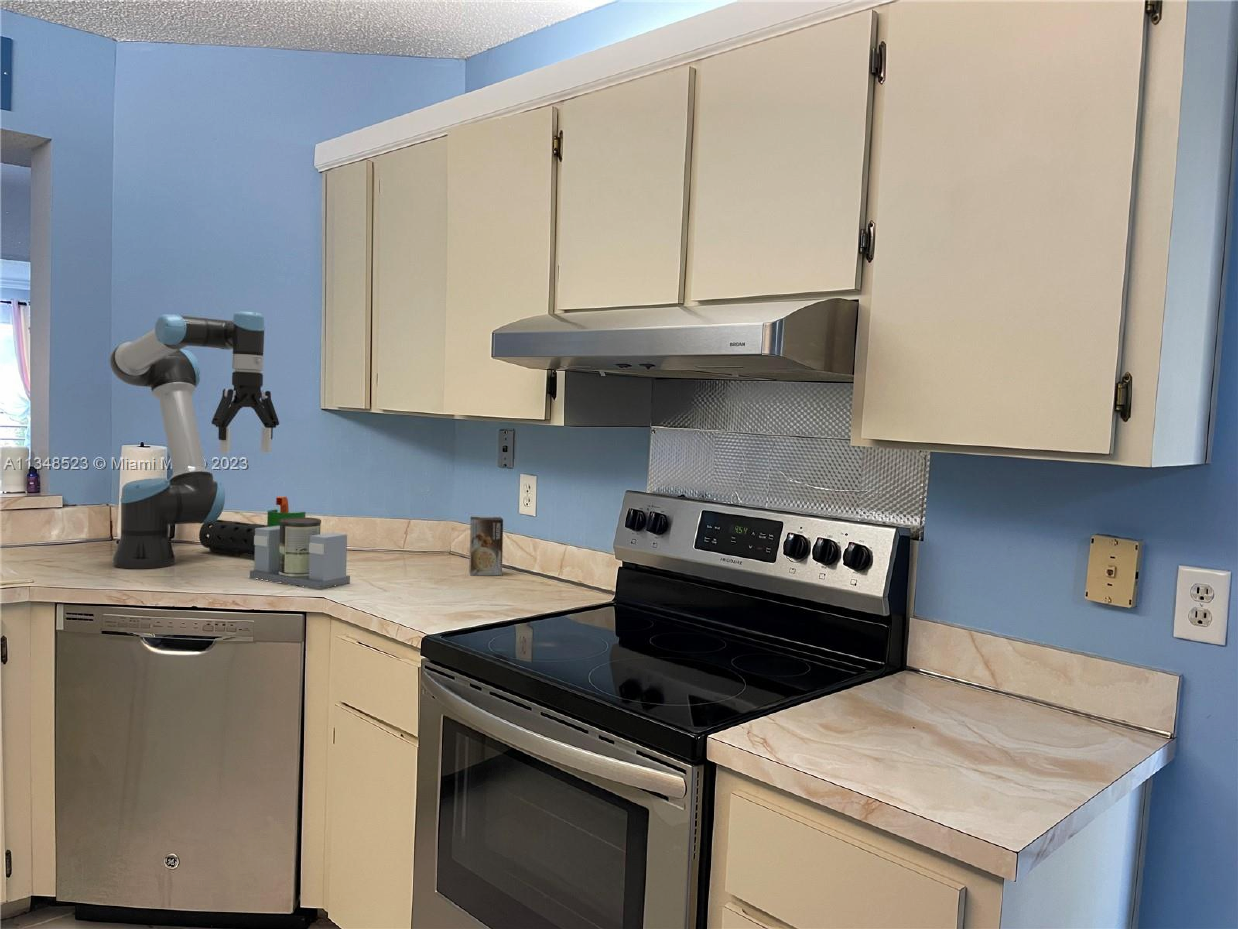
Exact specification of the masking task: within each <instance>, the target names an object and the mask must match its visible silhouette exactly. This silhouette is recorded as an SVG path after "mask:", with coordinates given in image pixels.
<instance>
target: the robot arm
mask: <svg viewBox="0 0 1238 929" xmlns="http://www.w3.org/2000/svg"><path fill="white" fill-rule="evenodd" d="M264 345H265V318H264V315H263V314H262V313H259V312H256V311H255V312H254V311H243V310H242V311H235V312H234V314H233V317H232V320H228V319H227V320H226V319H216V318H205V317H199V316H198V317H197V316H188V315H179V314H174V313H173V314H161V315H159V316H158V317H157V319H156V321H155V325H154V329H152V330H151V331H149V332H148V333H146V334H143V336H141V337H139V338H137V339H135V340H134V341H127V342H124V343H122V344H120V345H118V346H117V347H116V348H115V349H114V350H113V351H112V353H111V354H110V356H109V357H110V358H109V364H110V368H111V370H112V372H113V373H114V375H115V377H117V378H118V379H119V380H121V381H122V382H124V383H125V384H128V385H130V386H136V387H145V388H146V387H148V388H150V390H151V394H152V396H153V397H154V398H156V399H157V400H159V405H160V406H159V407H160V410H161V412H160V413H161V417H162V421H163V428H164V431H165V432H164V433H165V438H166V442H167V449H168V454H169V459H170V463H171V464H170V465H171V470H172V476H171V477H170V478H169V479H168V478H165V477H163V478H162V477H157V478H156V477H155V478H144V479H143V478H142V479H137V480H133V481H129V482H126V483H125V484H123V486H122V489H121V495H120V496H121V498H120V538H119V540H118V543H117V546H116V549H115V553H114V554H113V557H112V560H113V561H112V564H113V567H116V568H121V569H133V570H134V569H157V568H164V567H169V566H173V565H175V562H176V561H175V560H176V557H175V556H176V555H175V553H174V550H173V546H172V543H171V541H170V537H169V526H173V525H186V524H187V525H189V524H199V525H200V524H202V525H203V523H205V522H213V521H215V520H217V519H218V520H219V518H220V517H221V514H222V513H223V510H224V507H225V502H226V492H225V488H224V485H223V484H222V483H221V482H219V481H217V480H214V475H213V473H212V472H211V471H209V470H208V469H206V464H205V458H204V455H203V450H202V449H203V448H202V446H201V445H202V444H201V441H200V440H201V439H200V434H199V429H198V424H197V419H196V414H195V408H194V405H193V399H192V395H194V393H195V392H196V388H197V387H198V386H199V383H200V380H201V368H200V364H199V361H198V358H197V357H196V356H195V355H194V353H192V352H191V351H189V350H187V349H183V348H186V347H188V346H189V347H200V348H201V347H203V348H213V349H214V348H215V349H220V350H227V351H228V350H232V362H231V366H232V367H231V368H232V370H234V371H232V372H231V380H232V381H231V385H232V386H233V389H232V388H223V390H222V397H221V399H220V401H219V403H218V406H217V408H216V410H215V412H214V415H213V417H212V420H211V424H212V425H214V426H215V427H216V428H218V432H217V433H218V437H217V438H218V440H219V453H221V454H230V453H231V427H228V426H229V425H230V424H231V422H232V421H233V420H234V418H235V416H236V415H237V414H238V413H239V411H240V410H241V409H242V408H251V409H253V410H254V412H255V413H256V415H257V417H258V419H259V420H260V421H261V423H262V425H263V426H264V427H261V438H260V440H261V442H260V444H261V445H260V447H261V448H260V450H261V452H262V453H263V452H264V453H271V452H272V451H271V450H272V448H271V447H272V440H273V439H274V438H273V433H274V431H273V430H274V429H276V428H277V426H279V425H280V421H279V418H278V415H277V413H276V409H275V407H274V403H273V402H272V394H271V391H270V390H261V388H262V387H263V386H264V374H263V373H261V372H263V371H264V347H265V346H264Z"/></svg>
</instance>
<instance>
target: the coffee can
mask: <svg viewBox="0 0 1238 929" xmlns="http://www.w3.org/2000/svg"><path fill="white" fill-rule="evenodd" d="M279 522H280V546H279V574H280V575H282V576H289V577H306V576H309V557H310V553H309V543H310V536H312V535H319V534H321V528H322V527H321V524H322V520H321V519H320V518H315V517H305V518H304V517H295V518H284V519H280V521H279Z"/></svg>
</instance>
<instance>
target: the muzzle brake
mask: <svg viewBox="0 0 1238 929" xmlns="http://www.w3.org/2000/svg"><path fill="white" fill-rule="evenodd" d="M263 527H267V524H260V523H248V522H241V521H236V520H235V521H234V520H223V519H219V518H218V519H217V520H215V521H213V522H205V523H202V525H201V526H200V529H199V534H198V537H199V539H198V540H199V541H200V545H202V547H204V548H205V549H209V552H211V551H214V552H213V553H219V552H221V553H220V554H226V553H227V554H229V555H238V556H244V555H248V556H249V555H250V556H255V545H254V536H255V528H263Z"/></svg>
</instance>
